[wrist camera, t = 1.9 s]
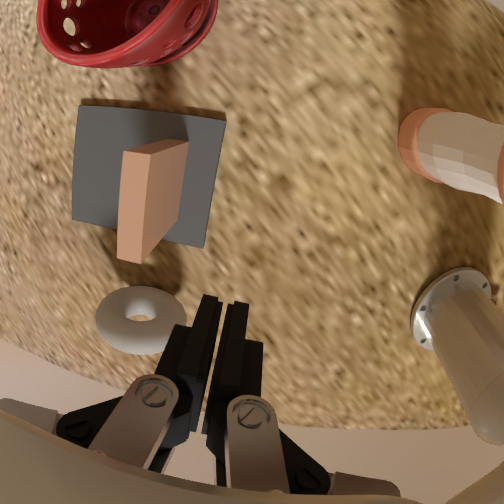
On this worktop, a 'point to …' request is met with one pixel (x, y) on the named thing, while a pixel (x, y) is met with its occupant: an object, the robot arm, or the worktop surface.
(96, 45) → the plant pot
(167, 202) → the tile
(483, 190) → the pepper shaker
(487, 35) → the worktop surface
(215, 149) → the mat
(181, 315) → the donut
